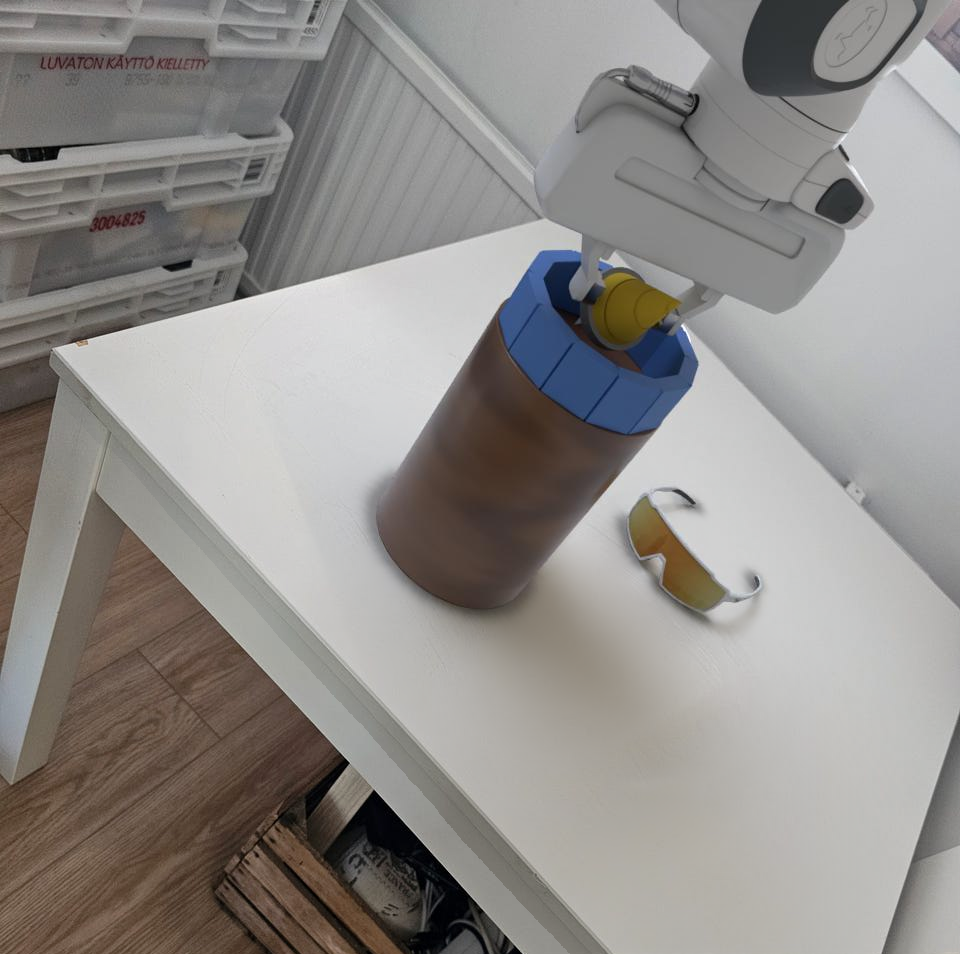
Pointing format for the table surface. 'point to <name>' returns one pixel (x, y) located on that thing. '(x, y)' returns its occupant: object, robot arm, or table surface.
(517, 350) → the blue segmented ring
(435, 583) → the stand
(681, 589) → the sunglasses
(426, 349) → the table surface
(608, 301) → the yellow tiered cone
